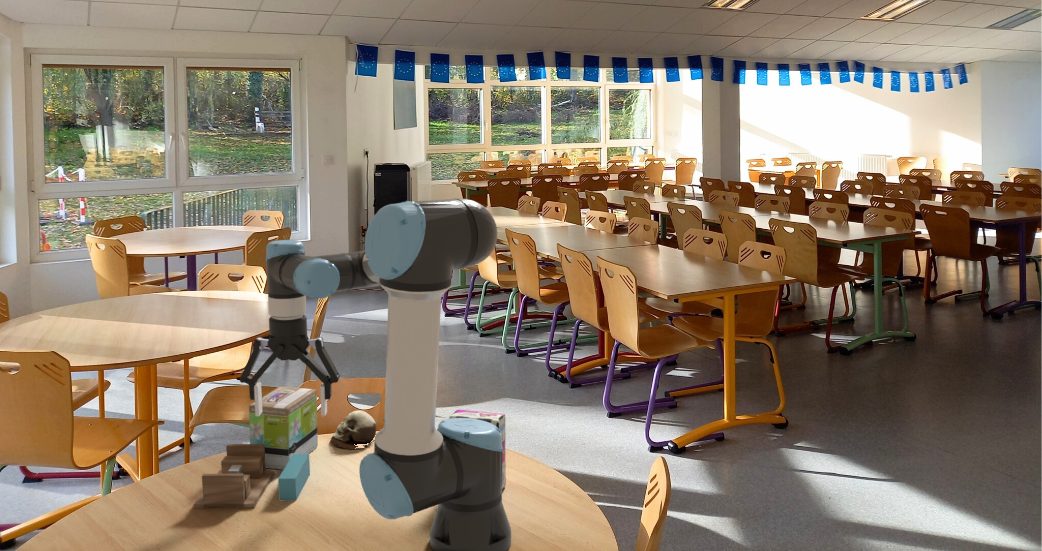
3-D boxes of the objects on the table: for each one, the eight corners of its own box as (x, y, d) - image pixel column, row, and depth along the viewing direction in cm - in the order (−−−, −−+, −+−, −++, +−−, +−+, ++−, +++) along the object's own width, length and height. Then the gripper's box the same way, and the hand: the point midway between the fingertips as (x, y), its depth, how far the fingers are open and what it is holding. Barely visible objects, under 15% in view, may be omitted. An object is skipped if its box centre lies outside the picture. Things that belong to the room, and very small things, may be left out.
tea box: (290, 471, 191) (288, 407, 188) (249, 467, 193) (246, 404, 190) (319, 446, 206) (317, 387, 203) (280, 443, 208) (278, 384, 205)
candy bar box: (506, 486, 184) (506, 413, 181) (498, 495, 179) (499, 421, 176) (457, 479, 187) (457, 407, 184) (449, 488, 182) (448, 415, 180)
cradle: (254, 508, 173) (252, 475, 171) (193, 508, 172) (191, 475, 171) (275, 473, 189) (273, 443, 188) (220, 474, 189) (218, 444, 188)
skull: (319, 444, 204) (331, 404, 210) (336, 459, 213) (348, 421, 218) (364, 448, 201) (376, 408, 206) (380, 464, 209) (391, 425, 215)
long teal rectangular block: (296, 501, 176) (295, 478, 176) (279, 501, 176) (278, 478, 176) (310, 475, 189) (309, 454, 188) (294, 475, 189) (293, 454, 188)
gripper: (351, 311, 180) (354, 407, 184) (231, 311, 179) (236, 408, 183) (345, 319, 173) (348, 420, 177) (220, 319, 172) (226, 420, 176)
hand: (291, 414), depth 180 cm, fingers open, 13 cm apart
